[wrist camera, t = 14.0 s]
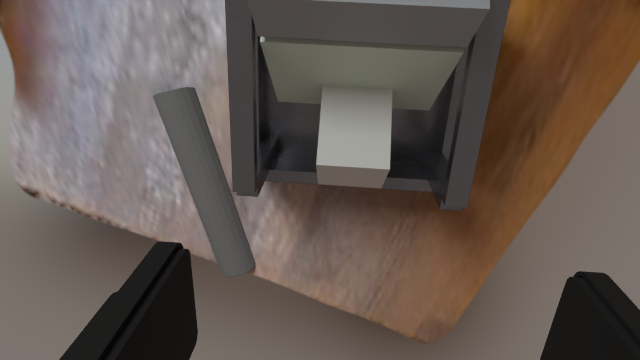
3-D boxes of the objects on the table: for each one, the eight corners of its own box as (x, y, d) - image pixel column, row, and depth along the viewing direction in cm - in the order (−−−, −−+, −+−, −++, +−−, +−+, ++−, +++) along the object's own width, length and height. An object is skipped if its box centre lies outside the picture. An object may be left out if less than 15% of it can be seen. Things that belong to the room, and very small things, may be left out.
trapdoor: (489, -34, 21) (490, 8, 21) (429, 82, 34) (428, 110, 34) (251, -45, 22) (246, -3, 21) (280, 74, 35) (278, 101, 34)
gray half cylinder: (221, 269, 46) (216, 279, 44) (152, 92, 38) (144, 97, 37) (259, 263, 45) (255, 273, 44) (196, 82, 38) (189, 86, 36)
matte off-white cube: (392, 89, 30) (389, 169, 29) (383, 118, 35) (381, 188, 34) (322, 85, 31) (316, 164, 29) (323, 114, 35) (318, 184, 34)
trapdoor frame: (483, -71, 31) (546, -102, 21) (442, 167, 39) (474, 227, 29) (250, -81, 32) (205, -115, 22) (255, 155, 40) (223, 210, 30)
